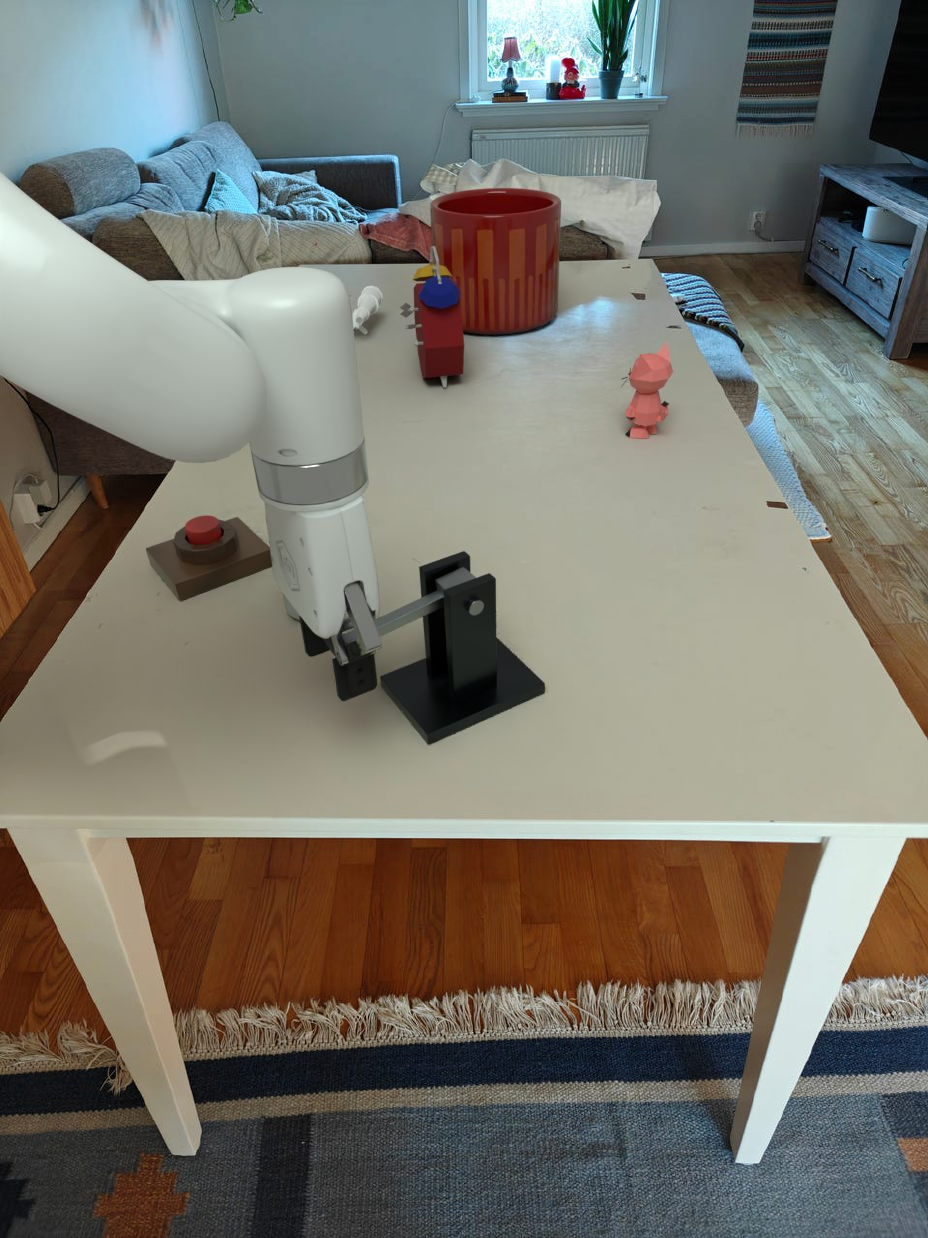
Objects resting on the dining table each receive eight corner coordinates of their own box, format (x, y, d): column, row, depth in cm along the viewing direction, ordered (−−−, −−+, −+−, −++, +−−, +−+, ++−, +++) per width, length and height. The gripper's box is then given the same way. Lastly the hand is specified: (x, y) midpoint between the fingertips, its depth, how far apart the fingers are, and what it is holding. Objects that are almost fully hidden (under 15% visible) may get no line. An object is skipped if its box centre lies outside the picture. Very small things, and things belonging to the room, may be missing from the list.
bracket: (428, 745, 72) (418, 624, 64) (380, 685, 78) (366, 569, 70) (545, 693, 76) (549, 575, 69) (491, 640, 83) (489, 527, 75)
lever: (348, 680, 65) (341, 658, 64) (320, 643, 69) (313, 621, 68) (491, 610, 70) (488, 588, 68) (457, 579, 74) (453, 557, 72)
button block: (179, 601, 90) (170, 569, 87) (150, 564, 95) (141, 534, 93) (274, 565, 95) (268, 534, 92) (241, 532, 100) (234, 502, 98)
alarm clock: (467, 392, 132) (462, 256, 120) (411, 397, 131) (402, 261, 119) (453, 358, 144) (448, 232, 132) (402, 363, 143) (392, 236, 131)
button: (195, 549, 91) (192, 535, 90) (183, 536, 93) (179, 522, 92) (227, 538, 92) (224, 524, 91) (214, 525, 95) (211, 511, 94)
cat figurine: (640, 418, 123) (648, 335, 115) (680, 431, 118) (691, 346, 111) (609, 433, 119) (615, 348, 111) (650, 448, 115) (659, 361, 107)
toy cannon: (351, 355, 151) (327, 334, 150) (364, 329, 163) (342, 310, 161) (379, 323, 148) (355, 301, 146) (390, 299, 159) (368, 278, 157)
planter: (421, 335, 154) (414, 214, 142) (451, 297, 172) (446, 186, 159) (547, 341, 149) (551, 216, 137) (564, 301, 167) (569, 187, 155)
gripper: (217, 434, 62) (259, 631, 73) (309, 538, 50) (343, 755, 61) (313, 411, 65) (339, 603, 76) (421, 503, 53) (434, 716, 64)
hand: (340, 669), depth 68 cm, fingers closed on lever, 5 cm apart
